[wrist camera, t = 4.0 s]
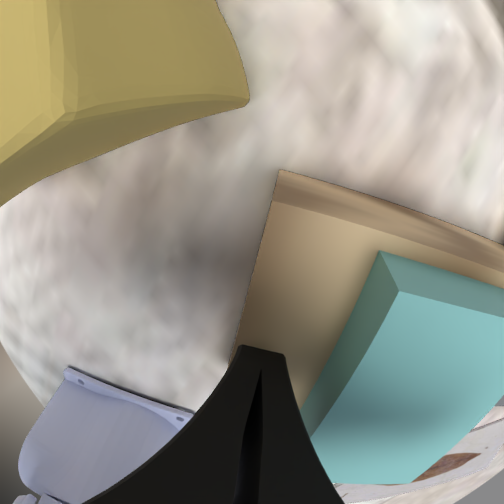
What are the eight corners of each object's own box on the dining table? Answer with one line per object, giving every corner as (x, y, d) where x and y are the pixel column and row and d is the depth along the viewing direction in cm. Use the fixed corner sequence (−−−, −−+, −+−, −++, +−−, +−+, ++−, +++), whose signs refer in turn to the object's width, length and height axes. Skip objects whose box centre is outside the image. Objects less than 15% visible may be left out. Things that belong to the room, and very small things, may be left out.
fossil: (331, 506, 23) (326, 471, 18) (331, 496, 24) (326, 457, 20) (486, 468, 20) (524, 417, 15) (484, 459, 21) (519, 406, 16)
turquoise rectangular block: (283, 437, 12) (279, 477, 10) (379, 250, 8) (399, 290, 6) (403, 449, 12) (409, 483, 10) (522, 295, 8) (551, 330, 6)
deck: (228, 365, 16) (211, 428, 12) (279, 169, 11) (271, 200, 8) (428, 399, 16) (443, 453, 12) (520, 253, 11) (567, 298, 8)
